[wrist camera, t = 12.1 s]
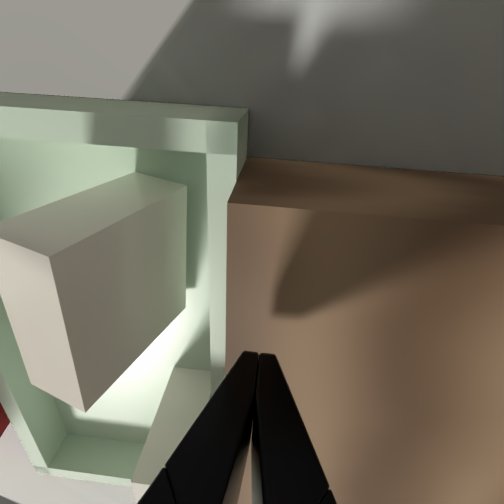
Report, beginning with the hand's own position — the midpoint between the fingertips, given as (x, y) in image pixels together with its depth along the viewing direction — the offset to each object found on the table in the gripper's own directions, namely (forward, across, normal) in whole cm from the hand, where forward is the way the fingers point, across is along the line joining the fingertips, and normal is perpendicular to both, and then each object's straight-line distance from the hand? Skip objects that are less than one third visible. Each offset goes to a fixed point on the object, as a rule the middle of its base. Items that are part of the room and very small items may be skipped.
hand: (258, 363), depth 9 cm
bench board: (+5, -5, +4) cm, 8 cm away
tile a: (+2, +2, +8) cm, 9 cm away
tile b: (+2, +4, -1) cm, 4 cm away
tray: (+5, +6, +4) cm, 9 cm away
